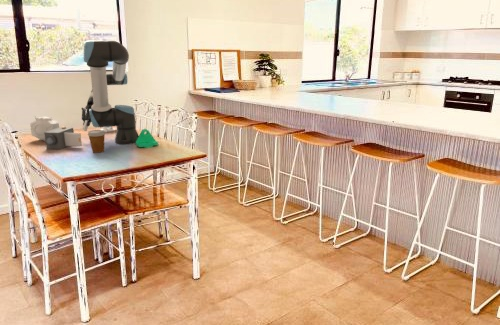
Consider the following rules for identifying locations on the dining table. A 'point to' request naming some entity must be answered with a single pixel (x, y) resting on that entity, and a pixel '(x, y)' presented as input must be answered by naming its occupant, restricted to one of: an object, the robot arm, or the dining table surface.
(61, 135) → the box
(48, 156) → the dining table surface
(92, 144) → the disposable coffee cup
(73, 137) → the side door
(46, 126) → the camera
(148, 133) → the green triangular piece
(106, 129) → the white piece
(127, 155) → the dining table surface
